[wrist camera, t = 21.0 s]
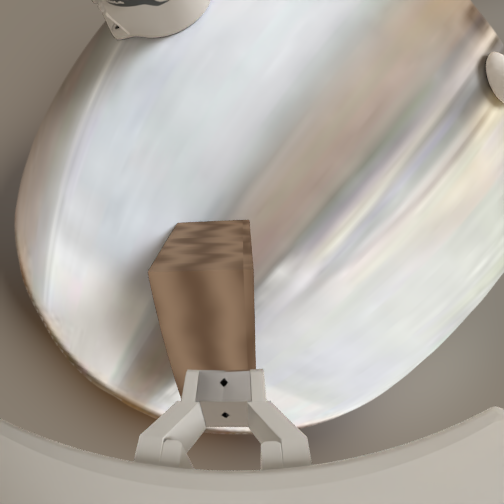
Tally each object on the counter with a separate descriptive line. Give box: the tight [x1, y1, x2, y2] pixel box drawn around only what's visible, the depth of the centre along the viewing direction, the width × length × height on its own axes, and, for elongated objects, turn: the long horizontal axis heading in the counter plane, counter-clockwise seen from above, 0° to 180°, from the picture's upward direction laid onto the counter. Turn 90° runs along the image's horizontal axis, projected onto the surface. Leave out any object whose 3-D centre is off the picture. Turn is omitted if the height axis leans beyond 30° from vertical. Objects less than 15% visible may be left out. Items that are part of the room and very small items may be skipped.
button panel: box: [148, 220, 256, 397], centre depth 41 cm, size 11×24×16 cm, turn 1°
